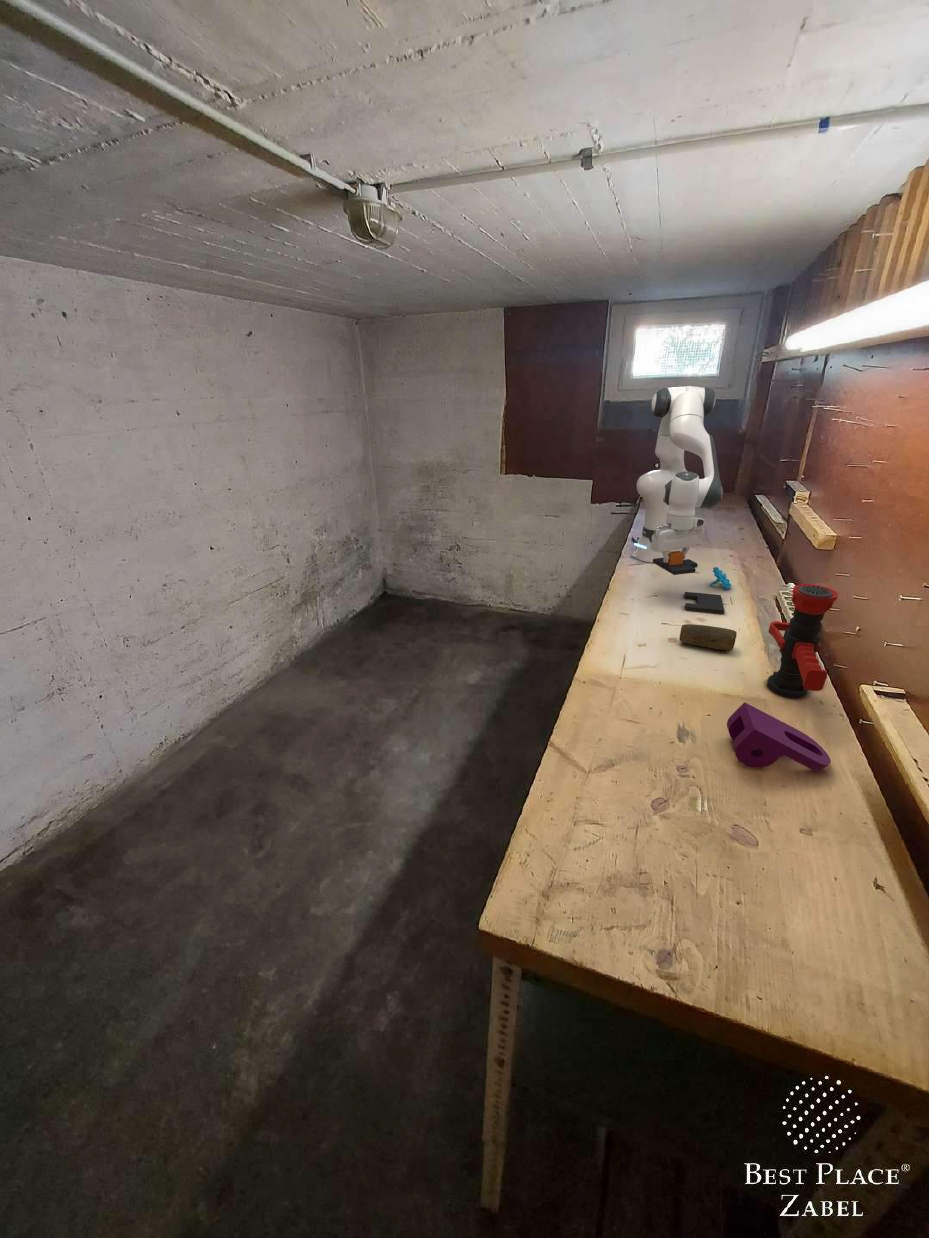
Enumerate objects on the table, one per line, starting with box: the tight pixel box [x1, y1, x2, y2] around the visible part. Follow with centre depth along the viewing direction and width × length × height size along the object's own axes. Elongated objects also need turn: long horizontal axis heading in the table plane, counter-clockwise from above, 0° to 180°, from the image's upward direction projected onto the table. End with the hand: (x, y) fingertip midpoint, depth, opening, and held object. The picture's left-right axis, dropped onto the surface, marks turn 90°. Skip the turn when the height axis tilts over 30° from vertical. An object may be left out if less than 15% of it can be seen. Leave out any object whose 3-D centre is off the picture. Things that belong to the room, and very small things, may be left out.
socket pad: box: [683, 591, 725, 615], centre depth 172 cm, size 14×12×2 cm
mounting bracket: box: [726, 701, 832, 772], centre depth 102 cm, size 9×8×18 cm
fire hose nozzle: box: [766, 583, 839, 699], centre depth 117 cm, size 10×28×25 cm
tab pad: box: [652, 550, 699, 576], centre depth 171 cm, size 14×12×6 cm
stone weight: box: [678, 623, 738, 651], centre depth 144 cm, size 15×7×7 cm, turn 65°
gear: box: [709, 566, 732, 590], centre depth 185 cm, size 11×6×10 cm
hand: (674, 560), depth 171 cm, fingers closed on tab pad, 5 cm apart
